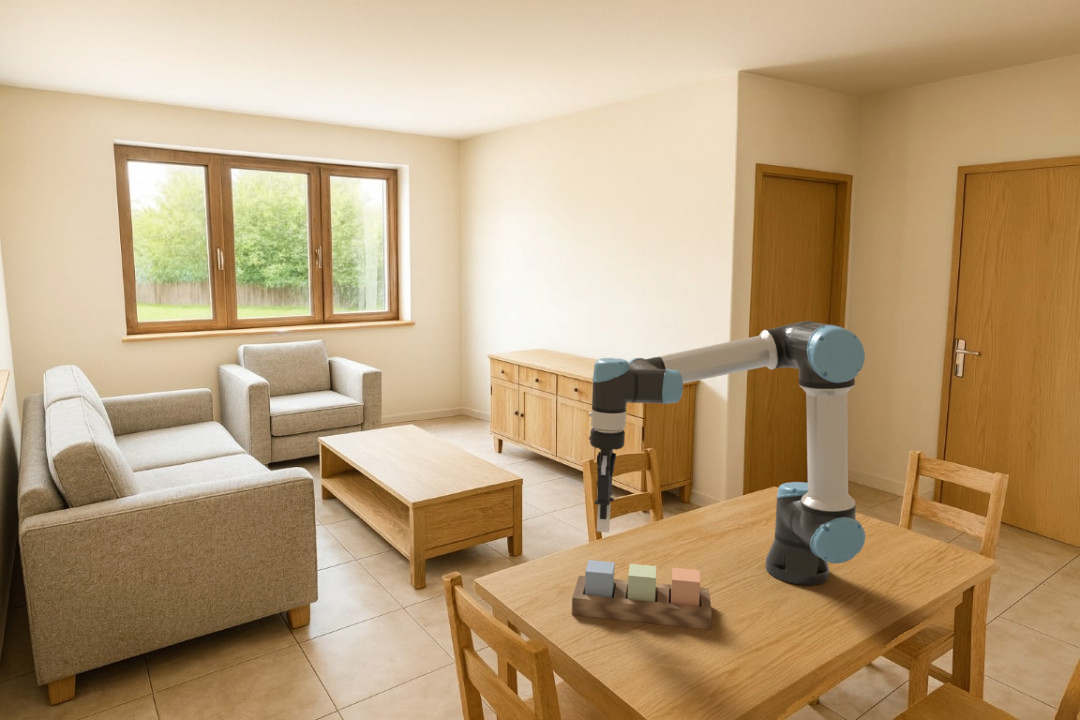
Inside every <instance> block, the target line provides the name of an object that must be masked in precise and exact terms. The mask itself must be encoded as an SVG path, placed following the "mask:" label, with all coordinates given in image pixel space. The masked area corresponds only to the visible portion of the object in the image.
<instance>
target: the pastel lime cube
mask: <svg viewBox="0 0 1080 720" xmlns="http://www.w3.org/2000/svg"><path fill="white" fill-rule="evenodd" d="M627 580H628V598H627V599H632V600H642V601H651V602H655V591H656V583H657V565H648V564H647V565H646V564H636V563H629V569H628V574H627Z"/></svg>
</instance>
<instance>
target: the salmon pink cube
mask: <svg viewBox="0 0 1080 720" xmlns="http://www.w3.org/2000/svg"><path fill="white" fill-rule="evenodd" d="M670 585H671V604H681V605H691V606H699V598H700V587H701V573H700V570H699V569H691V568H690V569H689V568H678V567H671V583H670Z"/></svg>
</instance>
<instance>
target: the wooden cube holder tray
mask: <svg viewBox="0 0 1080 720" xmlns="http://www.w3.org/2000/svg"><path fill="white" fill-rule="evenodd" d="M627 598H628V579H627V580H626V579H618V578H617V579H615V578H614V592H613V598H612V597H602V596H593V595H585V575H578V577H577V580H576V584H575V587H574V591H573V595H572V598H571V604H572V605H571V616H572V615H573V616H581V617H582V616H583V617H591V618H598V619H600V618H601V619H609V620H618V621H627V622H634V623H635V622H637V623H645V624H646V623H647V624H655V625H656V624H657V625H664V626H665V625H666V626H673V627H674V626H675V627H681V628H682V627H683V628H692V629H699V630H700V629H701V630H710V631H711V629H712V605H711V604H712V603H711V594H710V588H709V587H701V586H700V598H699V606H691V605H681V604H671V583H670V584H669V583H658V582H656V591H655V602H651V601H642V600H632V599H627Z"/></svg>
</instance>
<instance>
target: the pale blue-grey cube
mask: <svg viewBox="0 0 1080 720" xmlns="http://www.w3.org/2000/svg"><path fill="white" fill-rule="evenodd" d="M584 572H585V575H584V576H585V595H593V596H602V597H612V598H613V592H614V579H615V562H612V561H605V560H603V561H602V560H593V559H588V561H587V565H586V568H585V571H584Z"/></svg>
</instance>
